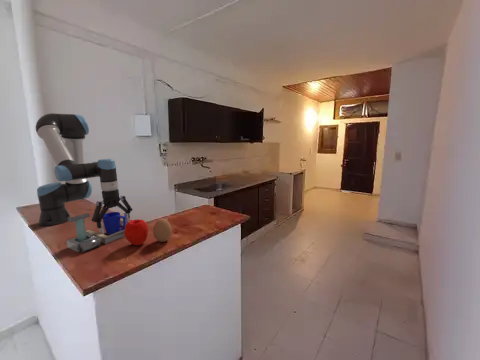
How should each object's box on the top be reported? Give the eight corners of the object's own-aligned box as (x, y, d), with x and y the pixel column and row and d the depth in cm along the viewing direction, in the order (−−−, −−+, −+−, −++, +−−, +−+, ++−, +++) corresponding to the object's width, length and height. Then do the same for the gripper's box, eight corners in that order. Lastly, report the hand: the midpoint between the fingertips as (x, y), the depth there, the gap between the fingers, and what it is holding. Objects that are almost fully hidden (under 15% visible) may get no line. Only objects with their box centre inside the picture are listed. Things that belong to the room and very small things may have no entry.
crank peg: (71, 246, 104) (67, 218, 102) (90, 239, 111) (86, 213, 109) (75, 248, 103) (71, 219, 100) (93, 241, 109) (90, 214, 107)
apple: (125, 251, 101) (122, 224, 98) (126, 242, 110) (123, 217, 107) (149, 246, 104) (147, 221, 102) (149, 238, 113) (146, 214, 111)
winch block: (67, 247, 106) (66, 239, 105) (88, 240, 113) (87, 232, 112) (82, 254, 99) (80, 245, 98) (103, 245, 107) (102, 237, 106)
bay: (85, 236, 117) (85, 231, 117) (122, 223, 134) (122, 218, 134) (105, 244, 108) (105, 238, 108) (142, 229, 125) (142, 224, 125)
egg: (163, 246, 104) (161, 222, 102) (150, 243, 108) (148, 220, 106) (176, 239, 112) (174, 217, 110) (163, 236, 115) (161, 214, 113)
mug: (120, 236, 116) (118, 217, 114) (100, 235, 119) (98, 216, 117) (131, 230, 124) (129, 212, 122) (112, 228, 127) (110, 211, 125)
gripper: (87, 195, 104) (94, 239, 108) (136, 185, 125) (140, 222, 129) (79, 194, 108) (86, 236, 112) (128, 184, 129) (132, 220, 133)
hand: (115, 229), depth 121 cm, fingers open, 13 cm apart
